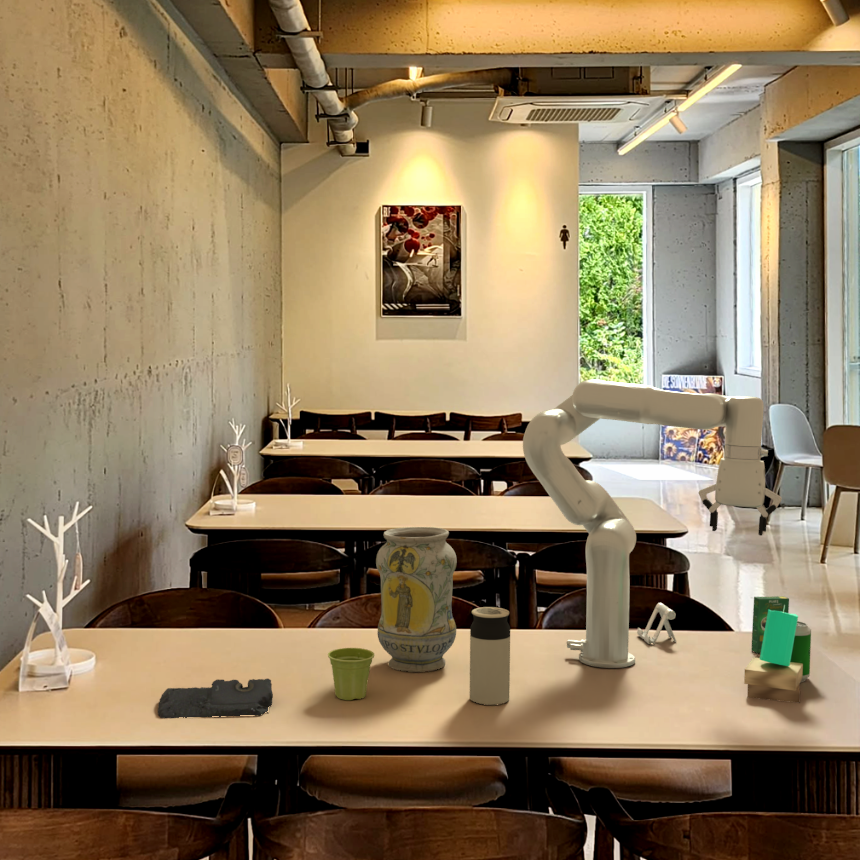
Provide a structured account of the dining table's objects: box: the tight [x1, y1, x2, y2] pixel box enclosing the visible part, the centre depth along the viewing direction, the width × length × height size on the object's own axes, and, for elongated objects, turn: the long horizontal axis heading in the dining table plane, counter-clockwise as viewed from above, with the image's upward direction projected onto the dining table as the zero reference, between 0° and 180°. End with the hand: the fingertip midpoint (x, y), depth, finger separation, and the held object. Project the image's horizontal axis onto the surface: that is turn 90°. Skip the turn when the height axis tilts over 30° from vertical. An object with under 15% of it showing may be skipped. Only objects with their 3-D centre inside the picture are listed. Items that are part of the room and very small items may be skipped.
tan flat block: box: [746, 682, 801, 703], centre depth 225 cm, size 10×10×3 cm
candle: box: [759, 605, 799, 666], centre depth 225 cm, size 6×6×12 cm
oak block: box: [743, 657, 803, 691], centre depth 225 cm, size 10×10×3 cm
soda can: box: [790, 620, 812, 683], centre depth 235 cm, size 8×8×12 cm
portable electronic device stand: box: [636, 602, 677, 645], centre depth 266 cm, size 9×8×8 cm
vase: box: [375, 526, 458, 673], centre depth 243 cm, size 18×18×30 cm
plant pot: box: [327, 647, 375, 701], centre depth 220 cm, size 9×9×9 cm
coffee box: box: [750, 595, 790, 654], centre depth 256 cm, size 8×3×13 cm, turn 103°
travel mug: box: [469, 606, 511, 706], centre depth 218 cm, size 8×8×18 cm
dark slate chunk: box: [157, 678, 274, 719], centre depth 214 cm, size 15×22×5 cm
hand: (737, 532), depth 236 cm, fingers open, 9 cm apart
